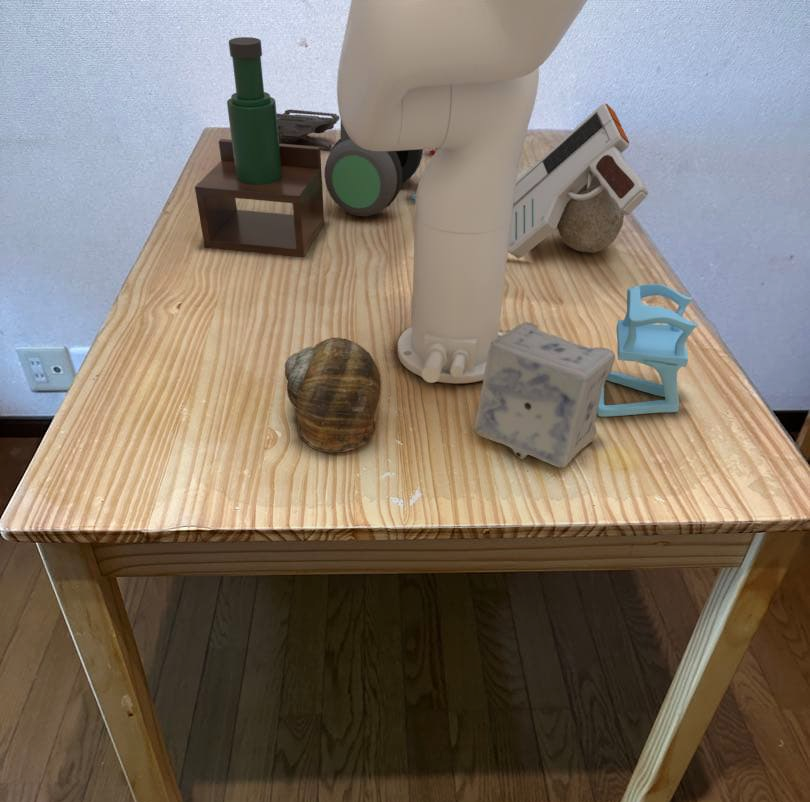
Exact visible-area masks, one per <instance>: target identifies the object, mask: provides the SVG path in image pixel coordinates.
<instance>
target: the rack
mask: <svg viewBox="0 0 810 802" xmlns="http://www.w3.org/2000/svg"><path fill="white" fill-rule="evenodd" d="M279 147H280V159H281V170H282V177H281V178H280V179H279V180H277V181H275V182H272V183H267V184H248V183H244V182H241V181H239V180H238V179H237V177H236V170H235V162H234V154H233V146H232V139H226V138H220V139H219V140H218V148H219V155H220V161H219V162H218V163H217V164H216V165H215V166H214V167H213V168H212V169H211V170H210V171H209V172H208V173H207V174H206V175H205V176H204V177H203V178H202V179H201V180H200V181H199V182H198V183H197V184H196V185H195V186H194V191H195V197H196V204H197V209H198V210H197V211H198V216H199V222H200V228H201V235H202V240H203V247H204V248H207V249H208V248H209V249H218V250H229V251H230V250H231V251H237V252H238V251H239V252H240V251H241V252H248V253H250V252H251V253H259V254H270V255H280V256H292V257H299V258H300V257H301V258H304V257H305V256H306V254H307V252H308V251H309V249H310V248H311V247H312V245H313V243H314V241H316V238H317V237H318V235H319V234H320V232H321V230H322V229H323V228H324V226H325V212H324V194H323V192H324V191H323V176H322V175H323V173H322V154H321V146H314V145H301V144H292V143H289V144H288V143H279ZM236 199H241V200H254V201H264V202H276V203H286V204H292V211H293V214H287V213H278V212H277V213H276V212H268V211H267V212H266V211H254V210H246V209H245V210H243V209H238V208H237V200H236Z"/></svg>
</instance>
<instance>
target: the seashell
mask: <svg viewBox="0 0 810 802" xmlns="http://www.w3.org/2000/svg"><path fill="white" fill-rule="evenodd" d="M284 376H285V379H286V381H287V382H286V393H287V397H288V399H289V401H290V403H291V405H292V406H293V407H294V408H295V414H296V418H297V420H296V421H297V430H298V432H299V435H300V437H301V438H302V440H303V441H304V442H305V443H306V445H308V446H309V447H311V448H313V449H314V450H316V451H320V452H325V453H343V452H347V451H351V450H355V449H359V448H361V447H363V446H364V445H366V444H367V443H368V442H370V441H371V439H372V438H373V436H374V434H375V431H376V427H377V425H376V420H375V418H376V414H377V411H378V407H379V403H380V399H381V398H380V397H381V390H382V389H381V388H382V381H381V380H382V379H381V373H380V370H379V367H378V365H377V363H376V361H375V360H374V358H373V357H372V355H371V353H370V352H369V351H368V350H367V349H365V348H364V347H363V346H361V345H359V344H358V343H357V342H354V341H353V340H350V339H348V338H342V337H334V336H333V337H330V338H326V339H324V340H322V341H320V342H318V343H316V344H315V345H314V346H310V347H306V348H303V349H301V350H300V351H298V352H296V353H293V354H291V355H290V356H289V357H287V359H286V362H285V363H284Z"/></svg>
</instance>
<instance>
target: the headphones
mask: <svg viewBox="0 0 810 802" xmlns="http://www.w3.org/2000/svg"><path fill="white" fill-rule="evenodd" d="M423 154H424V149H417V150H402V151H370V150H366V149H363V148H361V147H360V146H358V145H357V144H355V143H354V142H353V141H352V140H351V138H350V137H349V136H348V134H347V132H346V131H345V129H344V126H343V124H342V121H341V120H340V138H339V139H338V140H337V141H336V142H335V144H334V145H332V147H331V149H330V152H329V154H328V157H327V158H326V161H325V164H324V165H325V166H324V183H325V186H326V189H327V191H328V194H329V196H330V198H331V199H332V200H333V201H334V203H335V204H336V205H337V206H338V207H339V208H340V209H342V210H343V211H345V212H346V213H349V214H351V215H353V216H357V217H368V216H374V215H376V214H378V213H380V212H382V211H384V210H385V209H386V208H388V207H389V206H390V205H391V204H392V203H393V202H394V200H395V199H396V198H397V196H398V194H399V193H400V191H401V187H402V184H405V183H406V182H407V181H409V180H410V179H411V178H412V176H414V174H416V171H417V170H418V168H420V167H419V166H420V164H421V161H422V159H423Z"/></svg>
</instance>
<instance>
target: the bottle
mask: <svg viewBox="0 0 810 802" xmlns="http://www.w3.org/2000/svg"><path fill="white" fill-rule="evenodd" d="M228 47H229V56H230V57H231V60H232V67H233V76H234V84H235V92H234V93H233V94H231V96H230V98H228V99H227V101H226V106H227V113H228V122H229V129H230V137H231V139H230V140H232V146H233V154H234V162H235V170H236V177H237V179H238V180H239V181H241V182H244V183H248V184H267V183H272V182H275V181H277V180H279V179H280V178H281V177H282V170H281V159H280V147H279V144H280V137H279V136H278V125H277V113H278V112H277V105H276V104H277V102H276V99H275V98H273V97H272V96H271V94H269V93H268V92H266V91H265V87H264V78H263V77H264V76H263V66H262V56H263V50H262V49H263V48H262V41H261V39H260V38H258V37H257V38H256V37H252V36H241V37H239V36H238V37H234V38H230V39H229V40H228Z"/></svg>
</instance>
